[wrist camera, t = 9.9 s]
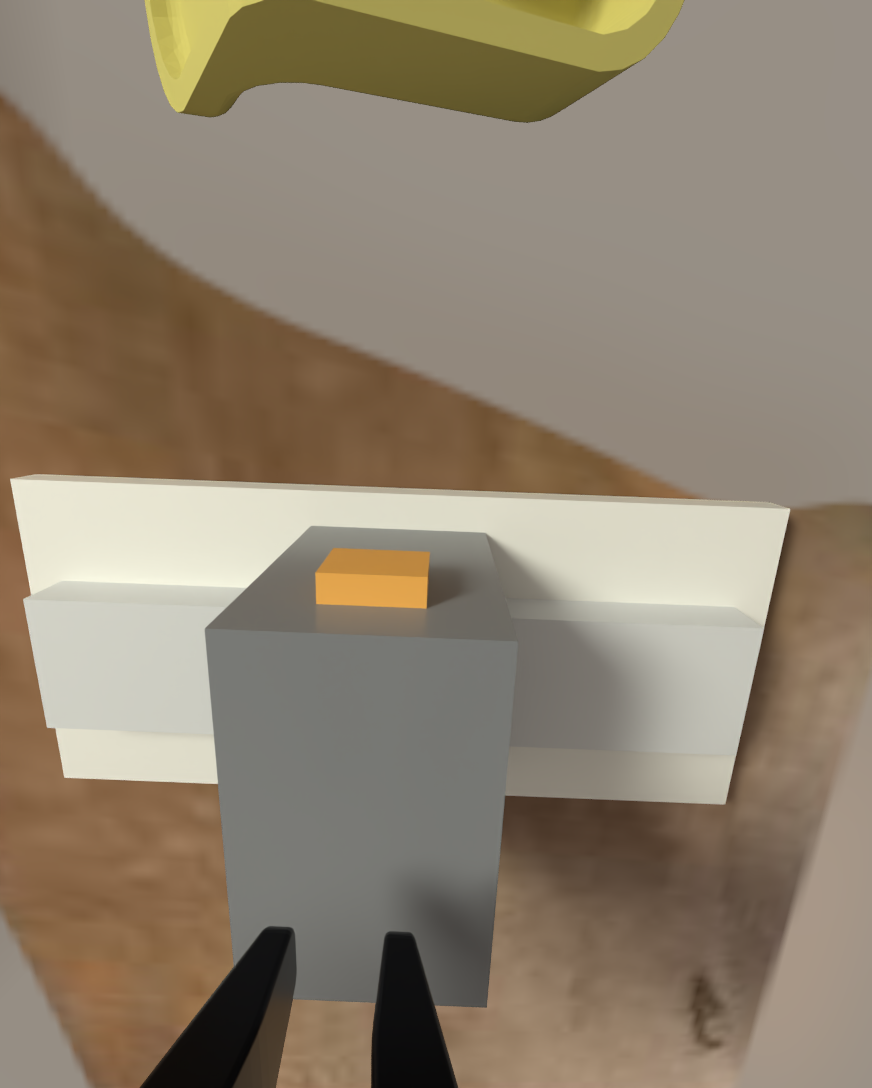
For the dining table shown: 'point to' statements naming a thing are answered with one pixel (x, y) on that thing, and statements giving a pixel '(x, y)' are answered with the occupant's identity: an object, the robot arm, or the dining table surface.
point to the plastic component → (404, 49)
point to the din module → (366, 755)
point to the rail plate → (506, 517)
